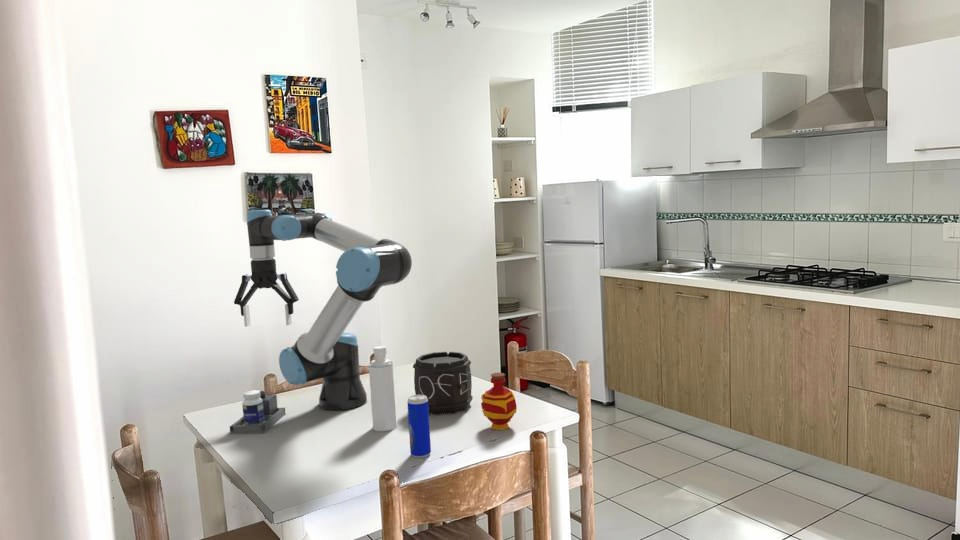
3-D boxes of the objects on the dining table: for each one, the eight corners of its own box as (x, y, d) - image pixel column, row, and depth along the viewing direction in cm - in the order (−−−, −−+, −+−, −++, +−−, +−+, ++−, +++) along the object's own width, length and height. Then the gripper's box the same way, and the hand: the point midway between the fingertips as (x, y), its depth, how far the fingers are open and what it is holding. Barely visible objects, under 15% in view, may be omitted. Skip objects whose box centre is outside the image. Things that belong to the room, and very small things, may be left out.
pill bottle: (240, 428, 199) (237, 394, 198) (250, 421, 205) (248, 389, 204) (258, 428, 198) (255, 395, 197) (268, 422, 204) (265, 389, 203)
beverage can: (410, 451, 176) (407, 395, 175) (430, 450, 177) (427, 393, 175) (410, 459, 171) (406, 400, 170) (431, 457, 172) (427, 399, 170)
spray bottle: (390, 432, 192) (385, 344, 189) (369, 430, 194) (363, 344, 191) (400, 424, 198) (395, 339, 196) (379, 423, 200) (373, 339, 197)
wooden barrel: (440, 420, 200) (437, 367, 198) (404, 408, 213) (401, 358, 212) (485, 406, 212) (483, 356, 210) (449, 395, 225) (447, 348, 223)
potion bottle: (522, 421, 195) (520, 370, 194) (512, 434, 186) (510, 380, 184) (487, 419, 199) (485, 369, 197) (476, 431, 189) (473, 378, 187)
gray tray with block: (285, 414, 213) (283, 387, 212) (263, 433, 196) (261, 403, 195) (254, 414, 214) (252, 387, 213) (230, 433, 197) (227, 404, 196)
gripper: (305, 256, 219) (310, 321, 221) (230, 259, 221) (235, 324, 223) (297, 258, 211) (302, 326, 214) (219, 261, 214) (225, 328, 216)
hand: (268, 325), depth 218 cm, fingers open, 13 cm apart
